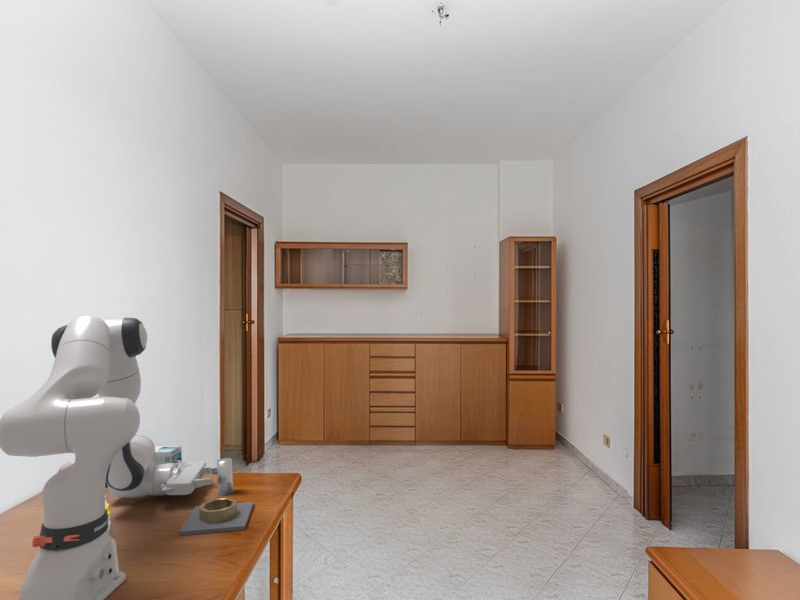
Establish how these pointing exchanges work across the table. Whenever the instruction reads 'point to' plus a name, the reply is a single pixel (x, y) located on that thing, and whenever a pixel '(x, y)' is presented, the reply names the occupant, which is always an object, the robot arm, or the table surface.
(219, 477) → the piston
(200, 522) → the base plate
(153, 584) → the table surface
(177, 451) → the light bulb box
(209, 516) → the bronze ring
